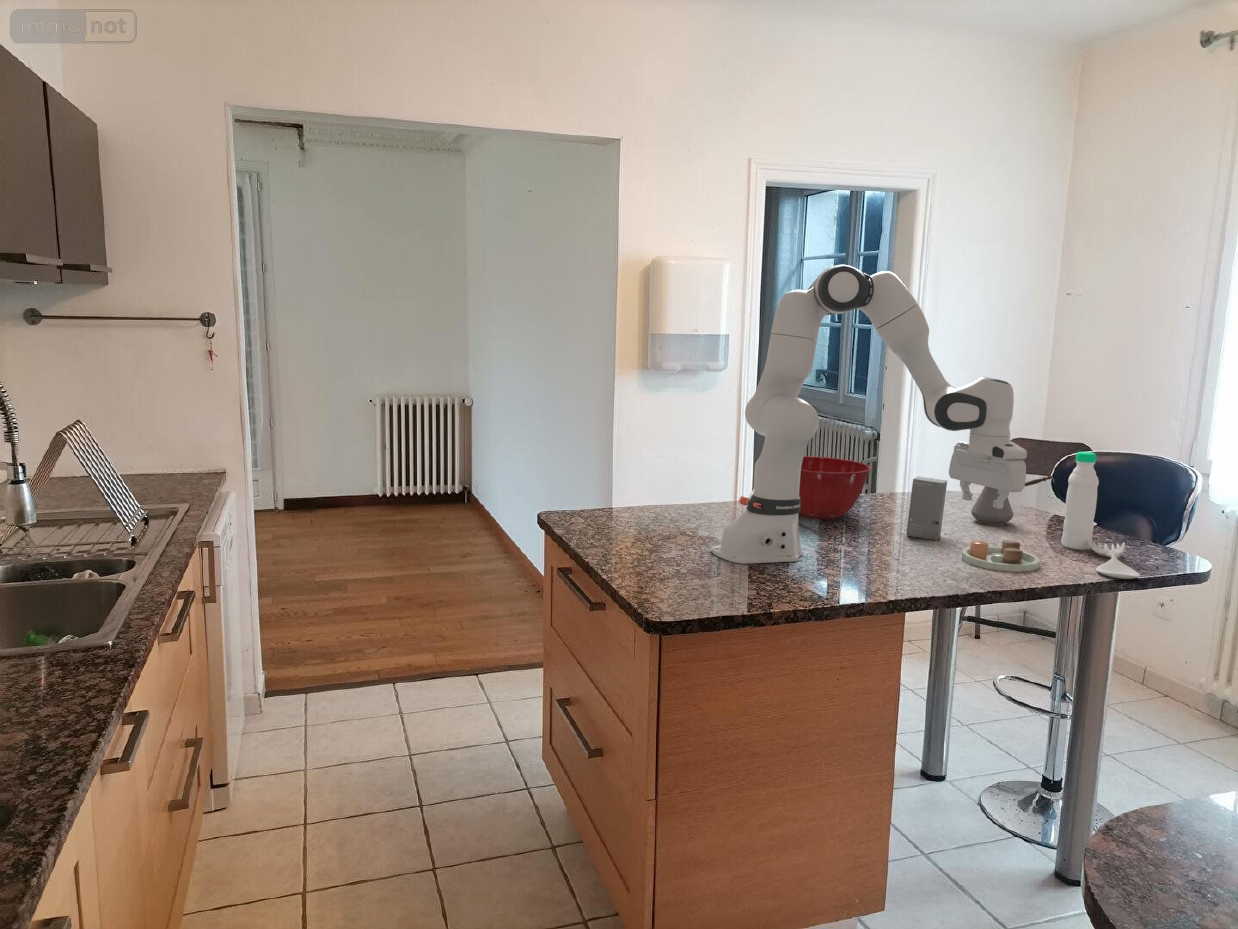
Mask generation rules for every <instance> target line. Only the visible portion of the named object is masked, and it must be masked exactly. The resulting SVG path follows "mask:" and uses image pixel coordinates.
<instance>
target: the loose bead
mask: <svg viewBox="0 0 1238 929" xmlns="http://www.w3.org/2000/svg"><path fill="white" fill-rule="evenodd" d="M988 546H989V543H988V542H986V541H981V540H971V541H970V545H969V547H970V556H972V557H975V558H978V559H981V560H986V561H987V555H988Z"/></svg>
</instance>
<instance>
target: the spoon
mask: <svg viewBox="0 0 1238 929" xmlns="http://www.w3.org/2000/svg"><path fill="white" fill-rule="evenodd" d="M1087 543H1088V545H1089V546H1090V547H1091V548H1090V549H1091V550H1092V551H1094V552H1095V553H1097V554H1098V555H1100V556H1102V557H1108V558H1110V559H1109V560H1107V561H1106V562H1104V563H1102V564H1099V565H1098V566H1097V567H1096V568H1095V570H1096V572H1098V573H1100V574H1101V575H1103V576H1106V577H1109V578H1114V579H1118V580H1119V579H1120V580H1133V579H1137V578H1140V577H1141V576H1142V575H1141V574H1140V573H1139V572H1138V571H1136V570H1135V569H1134V568H1131V567H1129V566H1128V565H1126V564H1125V563H1123V562H1121V561H1120V560H1119V559H1118V558H1120V557H1121V555H1122V554H1123V553H1124V551H1125V549H1126V543H1125V542H1123V543H1122V544H1121V546H1120V545H1119V543H1117V544H1116V548H1115V545H1114V543H1112V544H1111V549H1110V548H1109V545H1108V544H1107V543H1104V545H1103V547H1102V546H1101V544H1100V542H1098V543H1097V544H1096V542H1095V540H1092V543H1091V542H1090V540H1089V539H1088V540H1087Z"/></svg>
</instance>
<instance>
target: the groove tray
mask: <svg viewBox="0 0 1238 929" xmlns="http://www.w3.org/2000/svg"><path fill="white" fill-rule="evenodd" d="M1001 549H1002V546H990V545H988V555H987V561H986V560H981V559H978V558H975V557H972V556H970V546H967V547H966V548H962V551H961V560H962V561H964V562H965V563H967V564H969V565H973V566H976V567H979V568H982V569H988V570H993V571H1001V572H1002V571H1003V572H1012V573H1013V572H1015V573H1017V572H1019V573H1021V572H1022V573H1023V572H1031V571H1032V572H1033V571H1035V570H1037V569H1039V568H1040V564H1041V562H1040V561H1041V560H1040V558H1039V557H1038V556H1036V555H1034V554H1032V553H1031V552H1027V551H1023V550H1022V551H1023V553H1022V563H1021V564H1006V563H1003V555H1004V554H1001Z"/></svg>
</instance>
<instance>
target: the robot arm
mask: <svg viewBox="0 0 1238 929" xmlns="http://www.w3.org/2000/svg"><path fill="white" fill-rule="evenodd" d="M852 310H860V311H861V312H863V313H864V315H866V317H867V318H868V319H869V321H870V323H871V324H872V327H873V328H874V329H875V331H876V333H877V335H878V336H879V337H880V338H881V340H882V341H883V342H884V344H885V345H886V346H887V347H888V348H889V350H890V351H892V353H893V354H894V355H896V357H897V358H898V359H899V360H900V361H901V362H902V363H903V365H905V367H906V368H907V370H908V371H909V373H910V375H911V377H912V379H913V380H914V382H915V384H916V386H917V387H918V389H919V390H920V392H921V396H922V401H923V411H924V414H925V417H926V418H927V420H928V421H929V422H930V423H931V424H932V425H933V426H935V427H938V428H942V429H944V430H947V431H949V432H957V431H958V432H959V431H963V430H964V431H965V430H969V437H968V438H969V439H968V440H969V441H968V442H965V441H959V442H957V443H956V444H955V445H954V447H953V453H952V455H951V459H950V462H949V468H948V476H949V477H950V478H951V479H952V480H957V481H959V486H960V489H961V491H962V492H961V493H962V500H963V501H967V502H968V501H972V500H973V496H974V493H972V492H971V490H970V486H971V484H974V485H977V486H983V487H985V486H986V487H991V488H995V489H998V494H1000V495H999V497H998V498H997V500H993V507H994V508H998V509H1002V508H1003V504H1004V501H1005V499H1006V498H1007V497H1008V498H1009V495H1010V493H1020V492H1022V491H1023V489H1025V487H1026V486H1025V483H1026V478H1027V465H1026V462H1025V461H1024V460H1025V459H1026V458H1027V457H1028V456H1027V455H1028V451H1027V450H1026V449H1025V448H1023V447H1021V446H1020V445H1019V444H1016V443H1015V442H1014V441H1012V440H1011V430H1010V424H1011V422H1012V420H1013V413H1014V402H1015V400H1014V395H1015V394H1014V393H1015V392H1014V387H1013V386H1012V384H1011V383H1010V382H1008V381H1005V380H1002V379H999V378H993V377H988V376H980V377H979V378H978V379H977V380H974V381H972V382H970V383H968V384H966V385H963V386H961V387H954V386H953V385H951V384H950V383H949V382H948V381H947V380H946V379H945V377H944V375H943V373H942V371H941V369H940V368H939V367H938V365H937V363H936V361H935V360H934V357H933V356H932V354H931V351H930V348H929V336H930V328H929V325H928V321H927V320H926V317H925V315H924V312H923V310H922V309H921V306H920V305H919V304H918V302H917V300H916V299H915V297H914V295H913V294H912V293H911V291H910V290H909V289H908V287H907V286H906V285H905V284H904V282H902V280H901V279H900V278H899V277H898V276H897V275H896V274H895V273H893V272H891V271H888V270H887V271H884V270H883V271H879V272H877V273H874V274H872V275H869V274H867V273H866V272H863V271H862V270H859V269H858V268H856V267H854V266H851V265H849V264H848V265H847V264H836V265H833V266H830V267H828V268H826V269H824V270H823V271H822V272H821V273H820V274H819V275H818V276H817V278H815V279H814V281H813V283H812V284H811V285H810V286H809V287H808V289H806V290H805V289H794V290H790V291H787V292H786V293H784V294H783V295H781V298H780V300H779V303H778V306H777V308H776V311H775V314H774V318H773V322H772V325H771V331H770V335H769V336H770V337H769V344H768V348H767V354H766V360H765V364H764V368H763V370H762V374H761V377H760V379H759V381H758V384H757V387H756V390H755V392H754V394H753V395H752V397H750V399H749V400H748V401H747V404H746V407H745V409H744V410H745V411H744V415H745V416H744V417H745V420H746V423H747V424H748V425H749V426H750V427H751V429H752V430H753V431H754V432H756V433H757V434H758V435H761V436H762V437H763V436H764V443H763V446H762V450H761V453H760V455H759V457H758V458H757V460H756V461H755V464H754V475H753V477H754V478H753V493H752V494H751V496H750V498H748V497H746V496H744V495H742V496H739V498H738V503H739V504H740V505H743V506H746V510H745V511H743V512H742V513H741V514H740V515H739V516H738V517H736V518H735V519H734V520H732V521H731V522H730V523H729V524H727V525H726V526H725V527H724V530H723V532H722V536H721V542H720V544H718V545H713V546H712V547H711V553H713V554H714V556H717V557H719V558H720V559H723V560H726V561H728V562H731V563H732V562H733V563H737V564H743V565H745V564H746V565H747V564H762V563H763V564H765V563H784V562H785V563H786V562H787V563H788V562H798V561H799V558H800V557H802V555H803V554H804V553H803V549H802V544H801V539H800V529H799V527H800V526H799V517H800V516H799V513H800V502H801V498H800V497H799V488H800V474H801V466H802V461H803V457H804V456H805V454H806V450H807V447H808V445H809V441H811V439H812V438H813V437H814V436H815V435H816V432H817V431H818V428H819V424H820V423H819V422H820V419H819V415H818V413H817V411H816V409H815V408H814V407H813V406H812V405H811V404H809V403H808V402H807V401H805V400H804V399H802V398H799V394H800V393H801V389H802V387H803V385H804V383H805V382H806V380H807V379H808V378H809V377H810V375H811V374H812V372H813V367H814V361H815V354H816V349H817V343H818V339H819V331H820V326H821V324H822V321H823V319H824V317H826V316H830V315H839V314H841V315H842V314H845V313H848V312H849V311H852ZM1024 486H1025V487H1024Z"/></svg>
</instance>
